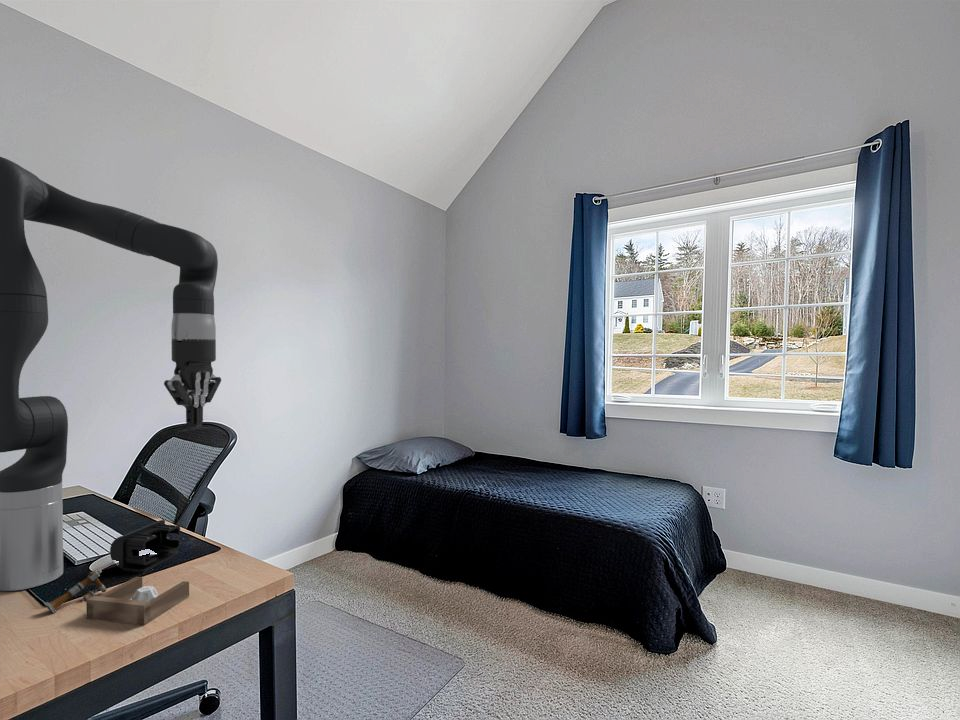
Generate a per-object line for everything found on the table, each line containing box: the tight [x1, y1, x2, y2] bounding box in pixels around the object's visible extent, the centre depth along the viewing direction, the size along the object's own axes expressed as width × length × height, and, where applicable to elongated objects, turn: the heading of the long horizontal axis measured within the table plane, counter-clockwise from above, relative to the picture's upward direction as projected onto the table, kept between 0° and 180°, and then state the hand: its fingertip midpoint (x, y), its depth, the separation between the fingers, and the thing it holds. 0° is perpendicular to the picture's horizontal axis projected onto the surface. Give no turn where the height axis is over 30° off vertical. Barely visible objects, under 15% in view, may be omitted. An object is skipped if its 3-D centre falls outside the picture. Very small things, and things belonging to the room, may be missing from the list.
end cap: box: [109, 519, 181, 573], centre depth 100 cm, size 10×7×7 cm
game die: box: [131, 585, 159, 602], centre depth 83 cm, size 4×4×3 cm
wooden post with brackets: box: [43, 569, 108, 614], centre depth 84 cm, size 2×8×4 cm, turn 149°
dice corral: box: [85, 576, 190, 626], centre depth 83 cm, size 10×9×3 cm
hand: (194, 426), depth 99 cm, fingers closed
